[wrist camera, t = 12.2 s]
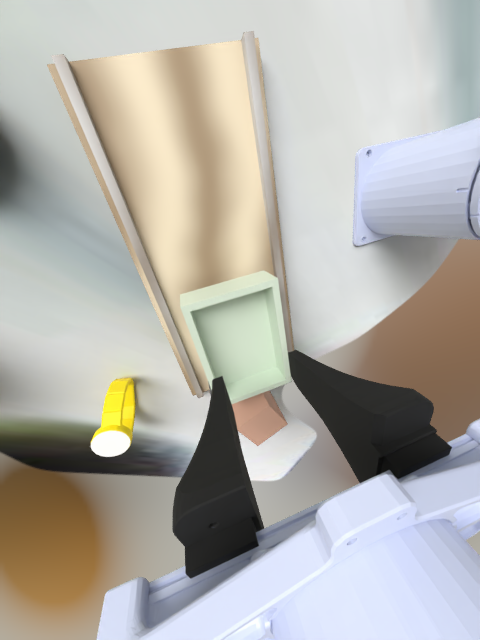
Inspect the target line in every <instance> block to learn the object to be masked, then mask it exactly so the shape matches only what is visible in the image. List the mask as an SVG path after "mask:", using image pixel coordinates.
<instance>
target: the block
mask: <svg viewBox="0 0 480 640" xmlns="http://www.w3.org/2000/svg"><path fill="white" fill-rule="evenodd" d="M232 407H233V411H234V415H235V420H236V425H237V430H238V431H239V432H240V433H242V434H243V435H244V436H245V437H247V438H248V439H249V440H251V441H252V442H253V443H254V444H256V445H257V446H259V445H260V444H261V443H263V442H264V441H265V440H267V439H268V438H269V437H271V436H272V435H274V434H275V433H276V432H278V431H279V430H280V429H282V428H283V427H284V426H286V425H287V422H286V420H285V418H284V416H283V414H282V413H281V411H280V409H279V407H278V405H277V403H276V402H275V400H274V398H273V396H272V394H271V392H270V391H266V392H263V393H261V394H258V395H255V396H253V397H250V398H247V399H245V400H242V401H239V402H237V403H234V404H232Z"/></svg>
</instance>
